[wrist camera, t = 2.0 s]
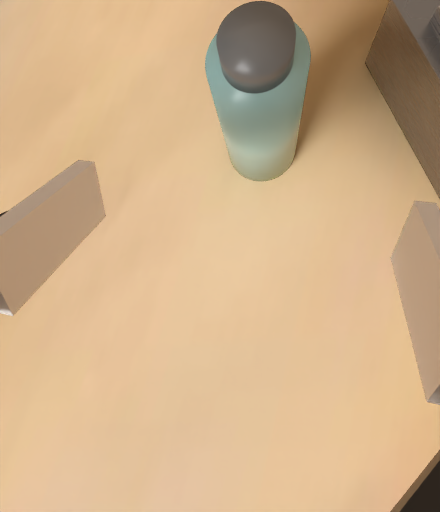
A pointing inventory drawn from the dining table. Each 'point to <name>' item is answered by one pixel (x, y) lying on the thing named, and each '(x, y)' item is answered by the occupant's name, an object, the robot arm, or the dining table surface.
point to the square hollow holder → (412, 75)
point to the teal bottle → (259, 87)
